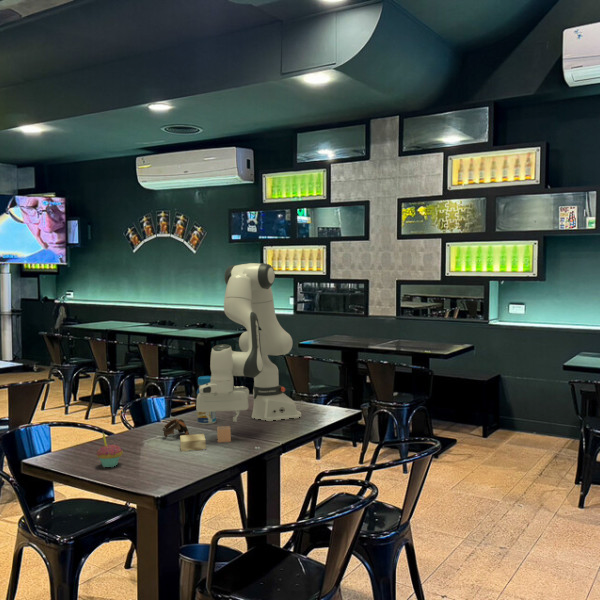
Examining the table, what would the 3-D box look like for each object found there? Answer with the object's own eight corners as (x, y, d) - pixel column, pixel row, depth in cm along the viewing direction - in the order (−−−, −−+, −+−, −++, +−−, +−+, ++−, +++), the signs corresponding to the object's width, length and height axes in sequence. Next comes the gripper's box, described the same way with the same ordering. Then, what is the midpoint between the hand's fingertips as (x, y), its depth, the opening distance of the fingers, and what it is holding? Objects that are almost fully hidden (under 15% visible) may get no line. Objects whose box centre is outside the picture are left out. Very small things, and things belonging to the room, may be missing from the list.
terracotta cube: (230, 438, 248) (229, 425, 248) (230, 441, 243) (230, 429, 243) (217, 439, 247) (217, 426, 247) (217, 442, 242) (217, 429, 242)
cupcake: (98, 470, 210) (97, 435, 209) (95, 464, 218) (94, 429, 217) (124, 467, 213) (123, 432, 213) (121, 460, 221) (120, 426, 221)
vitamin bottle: (220, 422, 273) (218, 377, 272) (202, 425, 269) (200, 379, 268) (211, 419, 280) (210, 374, 279) (193, 422, 276) (192, 376, 275)
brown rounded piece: (188, 441, 247) (177, 424, 245) (168, 451, 248) (157, 434, 246) (195, 426, 258) (184, 410, 256) (175, 435, 260) (165, 419, 258)
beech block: (204, 444, 241) (203, 433, 241) (205, 450, 233) (205, 439, 232) (180, 445, 239) (180, 435, 239) (181, 452, 231) (180, 441, 230)
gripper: (248, 384, 248) (248, 419, 249) (195, 386, 245) (196, 421, 245) (249, 387, 242) (250, 422, 243) (195, 389, 239) (196, 425, 239)
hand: (222, 422), depth 244 cm, fingers open, 8 cm apart
